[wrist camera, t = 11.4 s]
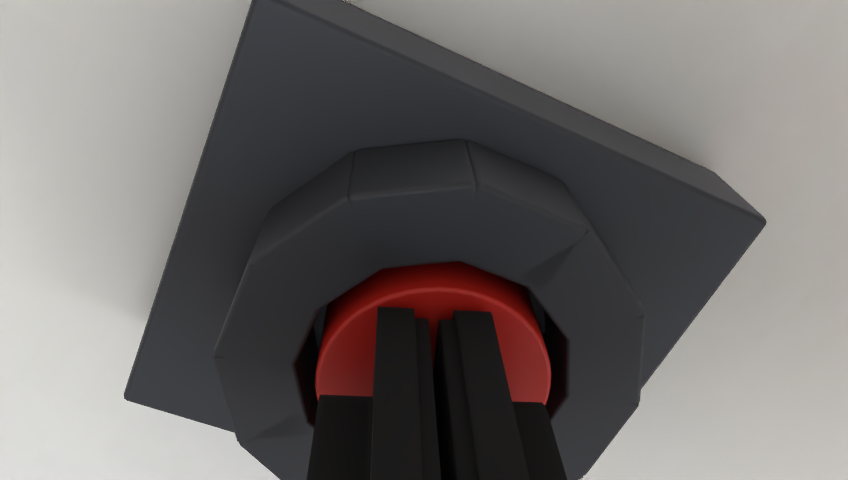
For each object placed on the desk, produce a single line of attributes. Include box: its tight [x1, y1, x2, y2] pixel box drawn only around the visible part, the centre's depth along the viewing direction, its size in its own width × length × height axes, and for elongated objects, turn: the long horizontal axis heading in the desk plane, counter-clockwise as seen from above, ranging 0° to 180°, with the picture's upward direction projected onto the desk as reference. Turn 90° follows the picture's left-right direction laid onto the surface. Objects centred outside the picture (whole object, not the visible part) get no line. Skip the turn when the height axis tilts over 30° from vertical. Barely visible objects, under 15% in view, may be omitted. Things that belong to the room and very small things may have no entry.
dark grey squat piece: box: [124, 0, 766, 480], centre depth 12 cm, size 9×8×4 cm
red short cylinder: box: [315, 261, 551, 405], centre depth 11 cm, size 4×4×2 cm
